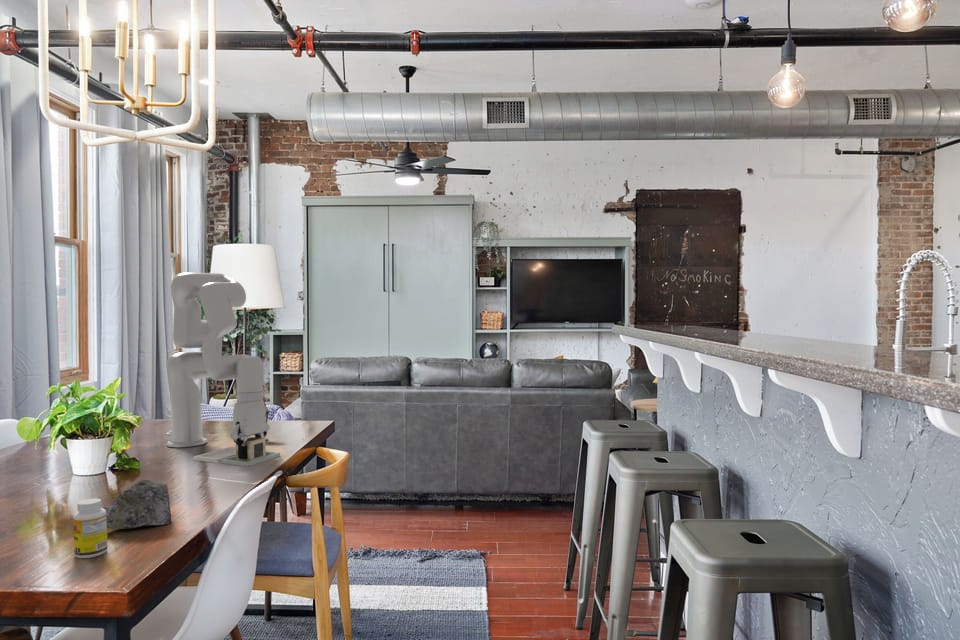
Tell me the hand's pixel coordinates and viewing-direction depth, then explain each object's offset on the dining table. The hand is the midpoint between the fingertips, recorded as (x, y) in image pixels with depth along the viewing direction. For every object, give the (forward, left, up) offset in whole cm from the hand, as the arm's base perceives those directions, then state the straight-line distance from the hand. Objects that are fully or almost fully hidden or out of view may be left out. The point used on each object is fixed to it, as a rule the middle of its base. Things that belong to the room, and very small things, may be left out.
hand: (251, 455), depth 206 cm
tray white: (-11, 0, -2) cm, 11 cm away
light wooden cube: (0, 0, -1) cm, 1 cm away
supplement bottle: (+28, -71, -2) cm, 76 cm away
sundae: (-19, +25, -2) cm, 32 cm away
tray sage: (0, 0, -2) cm, 2 cm away
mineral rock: (+21, -56, -2) cm, 60 cm away
